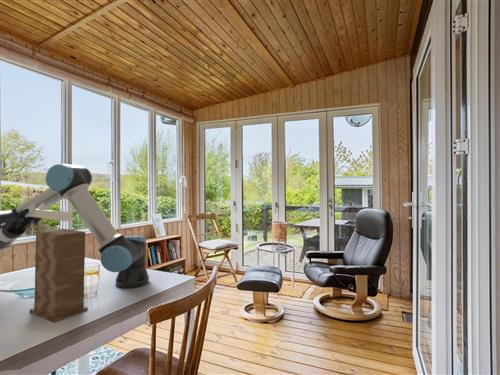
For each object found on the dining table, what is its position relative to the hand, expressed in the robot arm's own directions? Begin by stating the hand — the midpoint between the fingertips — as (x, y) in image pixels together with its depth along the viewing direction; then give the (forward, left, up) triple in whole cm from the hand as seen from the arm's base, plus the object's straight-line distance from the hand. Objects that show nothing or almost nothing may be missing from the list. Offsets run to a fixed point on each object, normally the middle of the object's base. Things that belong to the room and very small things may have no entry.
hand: (39, 206), depth 117 cm
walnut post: (-12, +9, -39) cm, 42 cm away
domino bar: (-5, +4, -4) cm, 7 cm away
